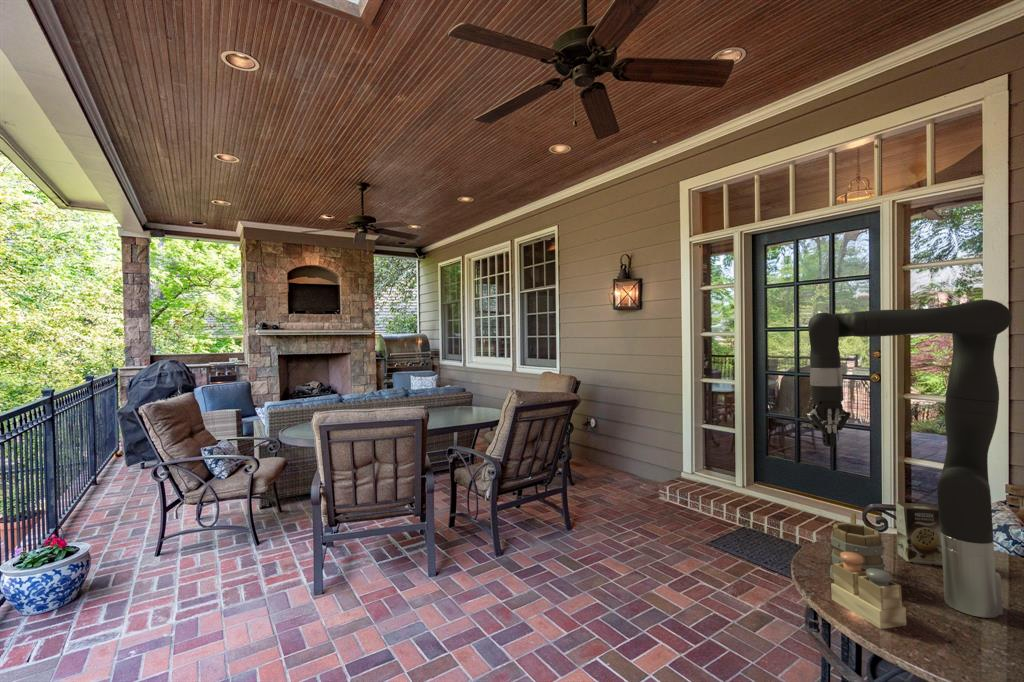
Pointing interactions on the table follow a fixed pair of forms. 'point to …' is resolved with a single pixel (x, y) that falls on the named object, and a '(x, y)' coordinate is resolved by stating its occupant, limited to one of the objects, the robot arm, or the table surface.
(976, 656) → the table surface
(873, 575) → the grey mushroom plug
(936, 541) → the coffee box
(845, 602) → the frame
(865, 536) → the tankard
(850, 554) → the terracotta plug
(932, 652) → the table surface
